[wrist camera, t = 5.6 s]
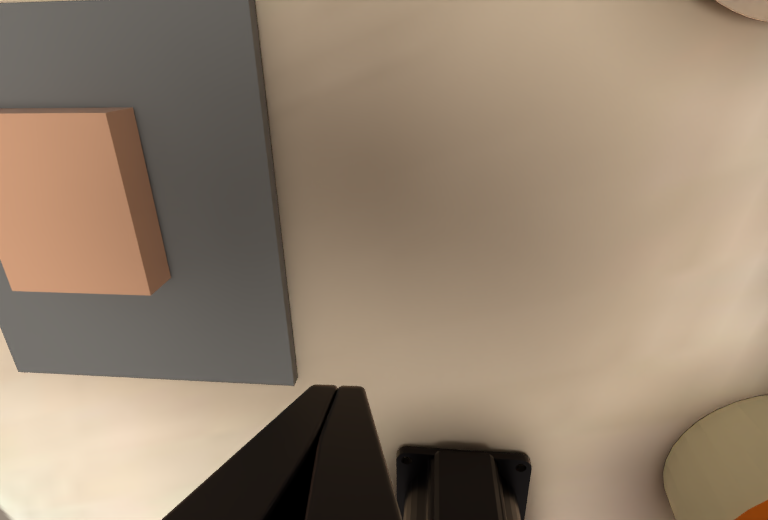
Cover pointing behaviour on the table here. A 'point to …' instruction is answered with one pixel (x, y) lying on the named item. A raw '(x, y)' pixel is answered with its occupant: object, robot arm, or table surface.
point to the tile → (77, 203)
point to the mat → (163, 190)
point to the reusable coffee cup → (721, 465)
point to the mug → (748, 8)
